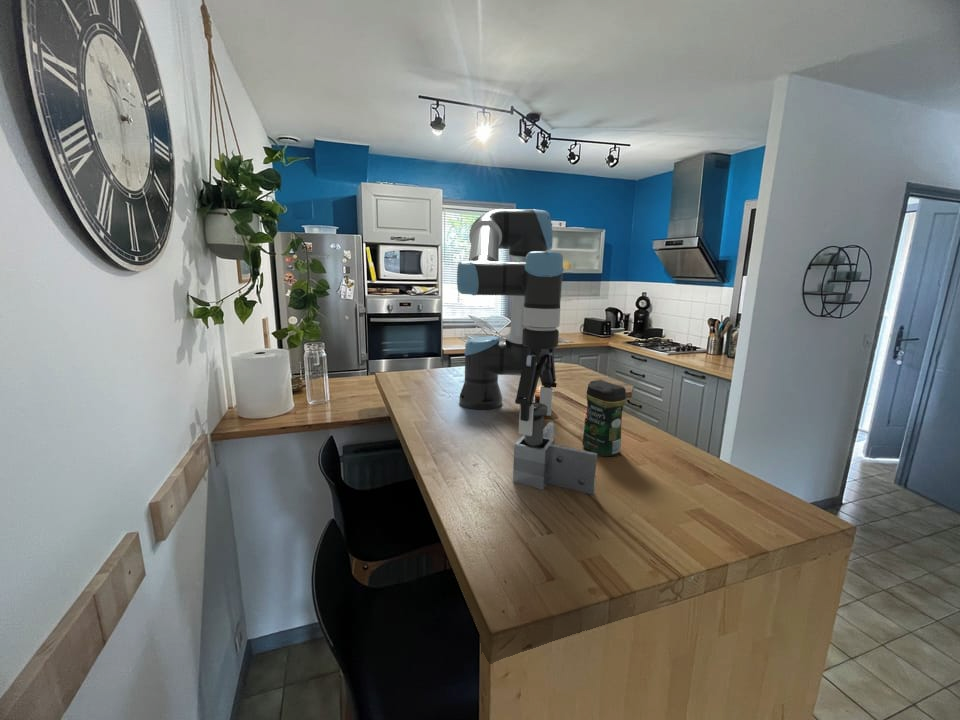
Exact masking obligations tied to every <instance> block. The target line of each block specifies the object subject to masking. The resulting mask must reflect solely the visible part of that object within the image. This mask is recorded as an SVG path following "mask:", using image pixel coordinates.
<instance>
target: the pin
mask: <svg viewBox="0 0 960 720" xmlns="http://www.w3.org/2000/svg"><path fill="white" fill-rule="evenodd" d="M532 404H533V405H534V409H533V429H532V436H528V435H525V445H527V446H532V447H537V448H542V449H543V429H544V417H545V416H548V415H547V410H548V407H547V406H546V405H544V404H541V403H540V402H532Z"/></svg>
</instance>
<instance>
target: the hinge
mask: <svg viewBox="0 0 960 720" xmlns="http://www.w3.org/2000/svg"><path fill="white" fill-rule="evenodd" d="M554 430H555V422H553V421H552V422H551V421H549V422H548V423H547V424H546V426H544V427H543V449H542V448H537V447H532V446H527V445H525V435H523V434H522V435H521V437H520V438H519V439H518V440H517V441H516V442H515V443H514V446H513V447H514V450H513V467H512V468H513V469H512V470H513V471H512V483H516V484H519V485H522V486H523V485H524V486H527V487H531V488H535V489H539V490H543V491H544V489H545V488H546V486H548V485H551V486H555V487H560V488H563V489H568V490H571V491H572V490H573V491H576V492H579V493H582V494H583V493H584V494H587V495H592V496H593V495H594V492H595V484H596V471H597V460H598V454H597V453H594V452H592V451H590V450H583V449H578V448H573V447H568V446H563V445H558V444H555V438H554V434H555V433H554V432H555V431H554Z"/></svg>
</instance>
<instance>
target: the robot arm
mask: <svg viewBox="0 0 960 720" xmlns="http://www.w3.org/2000/svg"><path fill="white" fill-rule="evenodd" d="M552 224H553V223H552V219H551V215H550V213H549V212H548V211H547V210H544V209H535V208H533V209H532V208H531V209H525V208H523V209H515V208H514V209H513V208H511V209H509V208H508V209H507V208H506V209H505V208H497V209H494V210H490V211H488V212H486V213H484V214H482V215H480V216H479V217H477V219H476V220H474V222H473V223H472V225H471V226H470V229H469V234H468V235H469V237H468V238H469V243H470V250H469V255H468V260H464V261H460V262H459V263H458V264H457V269H456V270H457V271H456V285H457V287H456V288H457V291H458V293H459V294H462V295H471V296H508V297H509V296H511V312H510V313H511V315H510V331H509V333H507V334H506V335H505V340H504V341H503V340H501V339H500V338H499V336H497V335H495V336H493V335H489V336H488V335H486V336H479V337H474V338H471V339H469V340H468V341H466V343H465V346H464V347H465V349H464V381H463V385H462V388H461V391H460V394H459V397H458V398H459V405H461V406H462V407H465V408H466V409H467V408H468V409H473V410H490V409H496V408H499V407H500V406H502V404H503V395H502V391H501V389H500V385H499V382H498V381H499V376H500V375H501V376H520V378H519V383H518V388H517V393H516V397H515V401H514V403H515V404H516V405H519V410H518V411H519V414H518V416H519V417H518V434H519V435H522V436H523V435H528V436H532V429H533V409H534V405H533V404H532V403H534V402H533V401H534V397H535V393H536V391H537V387H538V383H539V379H540V382H541V383H540V384H541V386H540V388H539V389H540V390H539V403H541V404H544V405H546V406H547V407H548V410H547V415H546V416H549V417H550V416H552V406H553V405H552V403H553V402H552V401H553V389H554V388H555V389H556V388H557V385H558V384H557V382H556V381H557V379H556V378H557V377H556V367H555V357H554V354H555V352H554V351H555V349H556V348H557V347H558V346H559V337H560V336H559V334H560V333H559V332H560V331H559V329H557V328H559V327H560V320H561V300H562V299H561V297H562V285H563V272H564V270H565V269H564V256H563V254H562V253H561V252H559V251H550V250H552V248H553V242H554V239H553V225H552ZM499 249H503V250H508V252H509V253H508V255H509V257H510V258H511V259H512V260H513V261H500V259H499V258H500V257H499V253H500V252H499Z"/></svg>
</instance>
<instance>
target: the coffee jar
mask: <svg viewBox="0 0 960 720" xmlns="http://www.w3.org/2000/svg"><path fill="white" fill-rule="evenodd" d="M626 393H627V392H626V388H625V387H624V386H622V385H617V384H615V383H612V382H608V381H605V380H604V379H603V380H602V379H598V380H597V379H596V380H590V381H589V382H588V385H587V389H586V394H585V396H586V397H585V398H586V403H587V404H586V405H587V408H586V416H585V423H584V429H583V435H582V440H581V441H582V447H584V449H587V451H589V452H594V453H597V456H598V455H599V456H601V457H613V456H616V455H617V454H619V453H620V452H621V450H622V449H621V447H622V418H623V409H624V407H625V404H626V400H627V394H626Z"/></svg>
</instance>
